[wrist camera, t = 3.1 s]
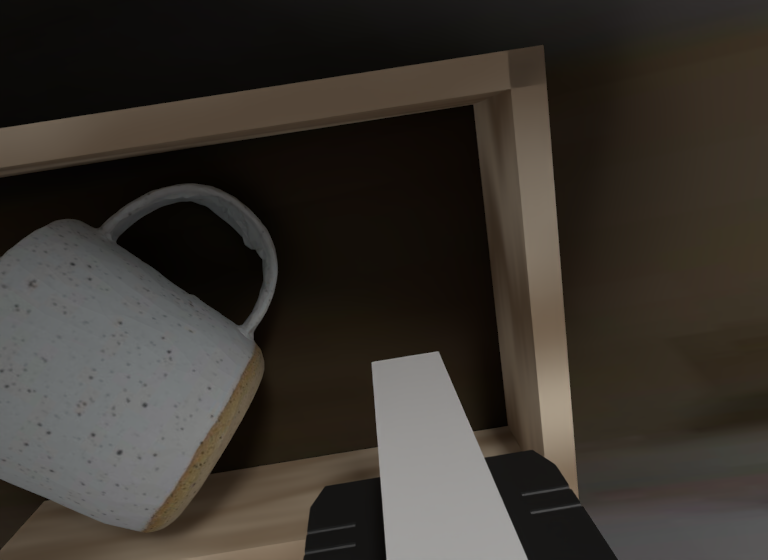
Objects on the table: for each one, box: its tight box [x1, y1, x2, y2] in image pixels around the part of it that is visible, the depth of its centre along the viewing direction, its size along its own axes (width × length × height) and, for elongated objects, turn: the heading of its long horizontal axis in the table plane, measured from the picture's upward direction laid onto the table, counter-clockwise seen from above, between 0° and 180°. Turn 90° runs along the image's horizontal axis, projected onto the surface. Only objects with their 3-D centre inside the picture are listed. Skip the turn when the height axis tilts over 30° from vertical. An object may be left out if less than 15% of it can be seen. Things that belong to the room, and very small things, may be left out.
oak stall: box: [0, 45, 579, 560], centre depth 19 cm, size 15×20×5 cm
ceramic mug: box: [0, 183, 278, 533], centre depth 18 cm, size 11×8×8 cm
